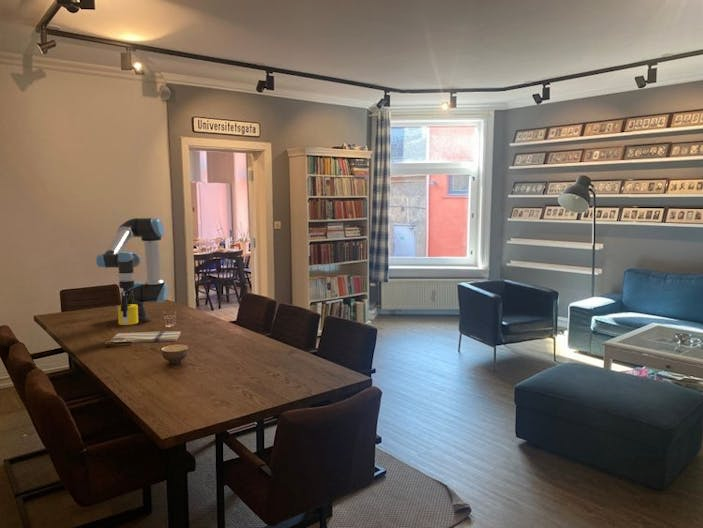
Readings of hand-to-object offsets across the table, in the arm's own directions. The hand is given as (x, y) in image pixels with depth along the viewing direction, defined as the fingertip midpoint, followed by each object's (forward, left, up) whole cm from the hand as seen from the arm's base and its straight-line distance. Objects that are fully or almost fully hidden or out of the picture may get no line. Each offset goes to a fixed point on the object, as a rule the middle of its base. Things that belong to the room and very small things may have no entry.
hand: (128, 320), depth 287 cm
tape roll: (0, 0, -1) cm, 1 cm away
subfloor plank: (0, +9, -10) cm, 14 cm away
